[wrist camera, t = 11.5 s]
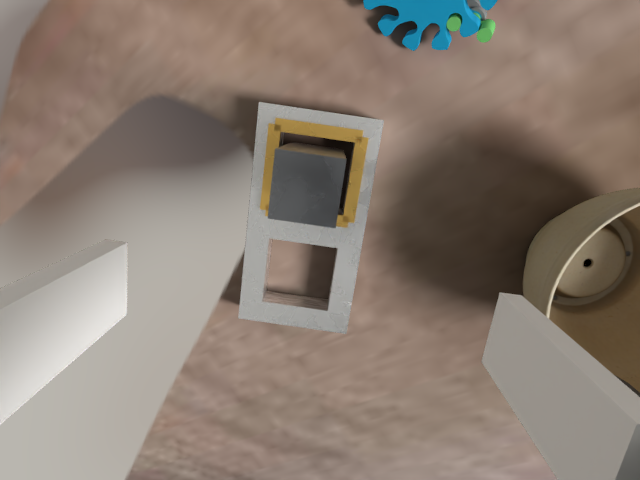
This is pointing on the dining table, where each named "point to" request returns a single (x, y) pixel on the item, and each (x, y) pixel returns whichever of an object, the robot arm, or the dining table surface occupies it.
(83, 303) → the robot arm
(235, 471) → the dining table surface
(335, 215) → the peg
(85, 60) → the dining table surface
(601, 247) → the planter bowl
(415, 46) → the gear
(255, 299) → the grey slotted holder
